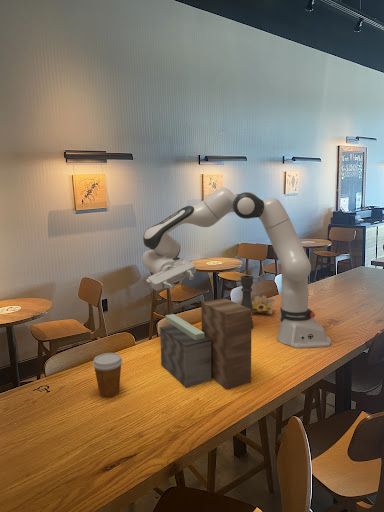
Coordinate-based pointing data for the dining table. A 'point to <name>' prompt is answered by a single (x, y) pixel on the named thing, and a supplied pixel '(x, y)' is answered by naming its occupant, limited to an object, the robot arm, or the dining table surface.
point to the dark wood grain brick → (185, 356)
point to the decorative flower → (262, 304)
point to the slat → (185, 327)
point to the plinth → (228, 341)
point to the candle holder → (247, 292)
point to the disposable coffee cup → (108, 373)
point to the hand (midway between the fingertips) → (182, 282)
